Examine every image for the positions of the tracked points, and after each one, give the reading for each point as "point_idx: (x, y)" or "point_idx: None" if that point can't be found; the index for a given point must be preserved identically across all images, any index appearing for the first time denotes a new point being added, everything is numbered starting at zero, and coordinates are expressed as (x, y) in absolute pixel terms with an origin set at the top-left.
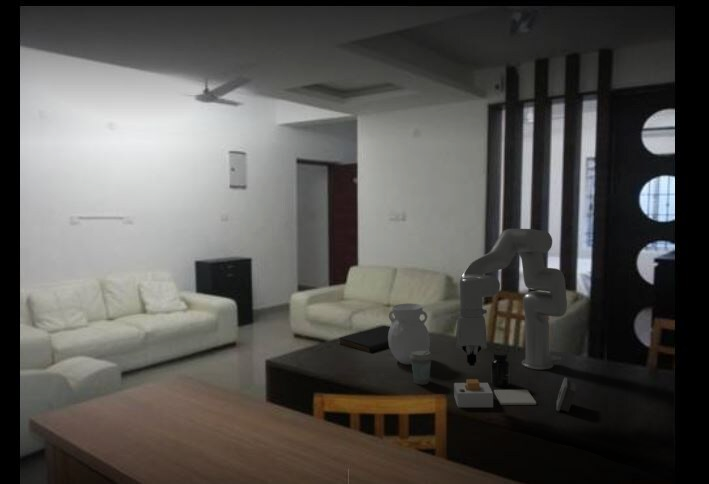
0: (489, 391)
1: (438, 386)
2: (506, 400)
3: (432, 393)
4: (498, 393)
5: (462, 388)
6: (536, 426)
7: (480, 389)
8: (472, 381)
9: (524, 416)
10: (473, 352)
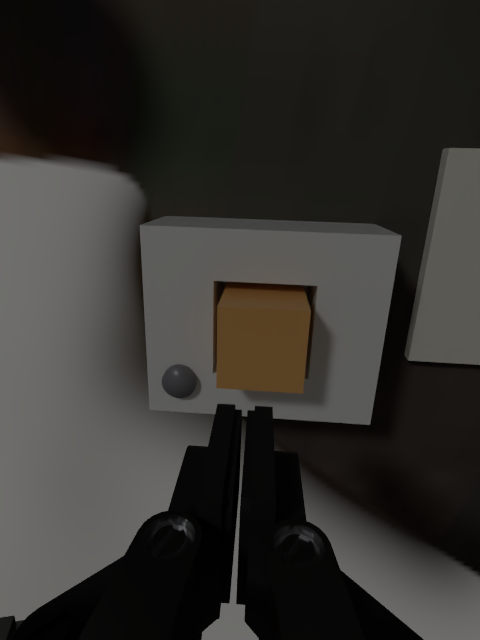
0: (356, 399)
1: (66, 7)
2: (454, 334)
3: (33, 157)
4: (452, 220)
5: (189, 338)
6: (465, 560)
7: (310, 347)
8: (258, 355)
9: (462, 481)
10: (259, 624)
